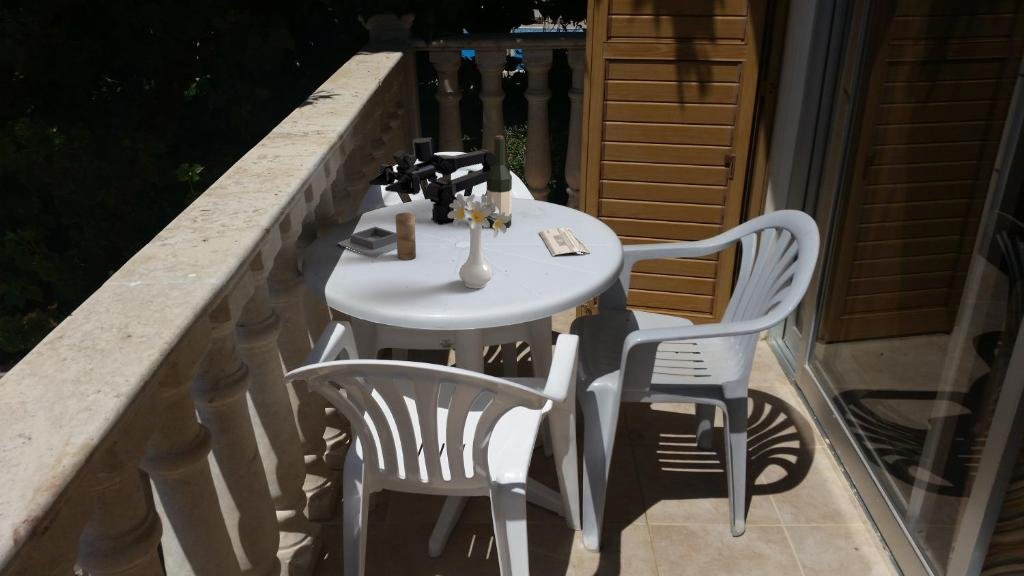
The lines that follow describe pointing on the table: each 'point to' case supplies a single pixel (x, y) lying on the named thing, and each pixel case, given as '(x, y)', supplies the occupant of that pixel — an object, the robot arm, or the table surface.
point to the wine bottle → (500, 182)
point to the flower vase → (477, 236)
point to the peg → (405, 236)
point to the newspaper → (562, 241)
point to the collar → (372, 241)
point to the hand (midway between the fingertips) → (377, 186)
